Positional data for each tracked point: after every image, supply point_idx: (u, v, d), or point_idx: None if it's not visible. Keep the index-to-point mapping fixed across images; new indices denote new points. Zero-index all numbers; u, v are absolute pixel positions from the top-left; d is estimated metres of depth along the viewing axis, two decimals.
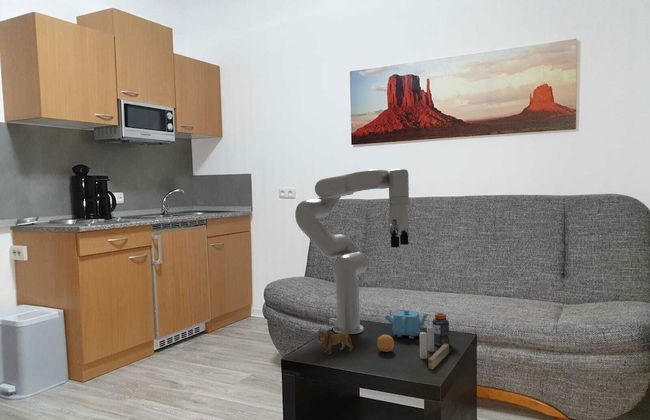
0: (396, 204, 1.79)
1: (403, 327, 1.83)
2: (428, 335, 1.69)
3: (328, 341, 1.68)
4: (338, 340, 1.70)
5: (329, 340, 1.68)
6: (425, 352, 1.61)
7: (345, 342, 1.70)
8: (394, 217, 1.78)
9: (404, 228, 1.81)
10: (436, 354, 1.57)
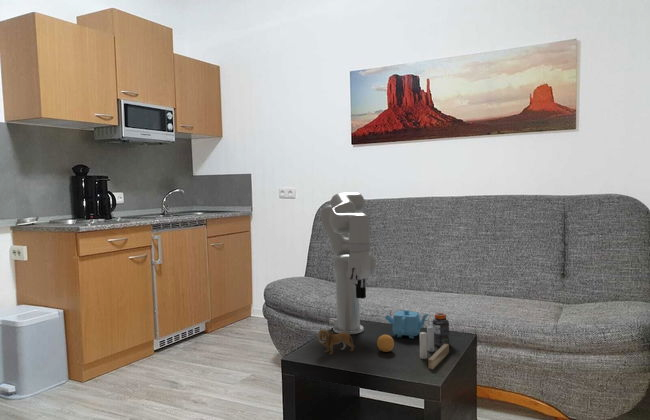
0: (356, 251, 1.70)
1: (403, 327, 1.83)
2: (428, 335, 1.69)
3: (330, 341, 1.68)
4: (340, 340, 1.70)
5: (331, 340, 1.68)
6: (425, 352, 1.61)
7: (347, 342, 1.70)
8: (353, 265, 1.69)
9: (365, 276, 1.72)
10: (436, 354, 1.57)
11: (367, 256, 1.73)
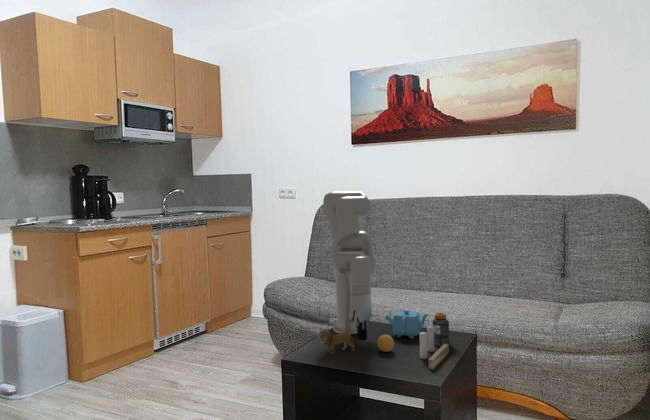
0: (357, 294, 1.70)
1: (403, 327, 1.83)
2: (428, 335, 1.69)
3: (331, 341, 1.68)
4: (340, 340, 1.70)
5: (332, 340, 1.68)
6: (425, 352, 1.61)
7: (347, 342, 1.70)
8: (355, 308, 1.69)
9: (366, 318, 1.72)
10: (436, 354, 1.57)
11: (368, 298, 1.73)
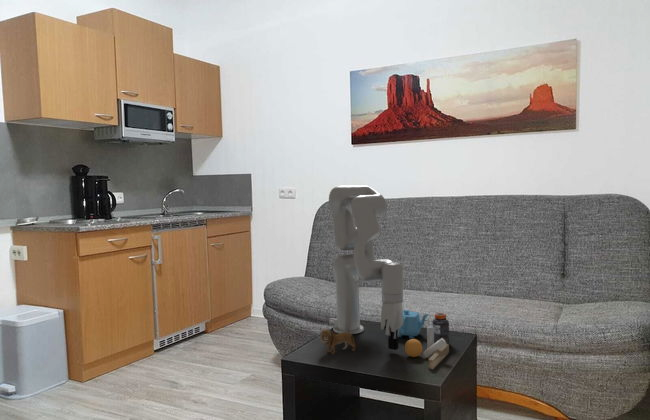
0: (389, 302, 1.64)
1: (403, 327, 1.83)
2: (428, 335, 1.69)
3: (332, 341, 1.68)
4: (341, 340, 1.70)
5: (333, 340, 1.68)
6: (430, 354, 1.61)
7: (348, 342, 1.70)
8: (387, 317, 1.63)
9: (398, 327, 1.67)
10: (436, 354, 1.57)
11: (400, 306, 1.67)
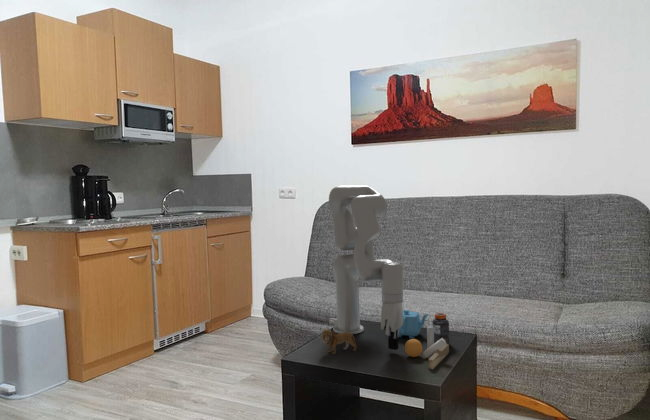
0: (389, 302, 1.64)
1: (403, 327, 1.83)
2: (428, 335, 1.69)
3: (333, 341, 1.68)
4: (342, 340, 1.70)
5: (334, 340, 1.69)
6: (430, 354, 1.61)
7: (349, 341, 1.70)
8: (387, 317, 1.63)
9: (398, 327, 1.67)
10: (436, 354, 1.57)
11: (400, 306, 1.67)
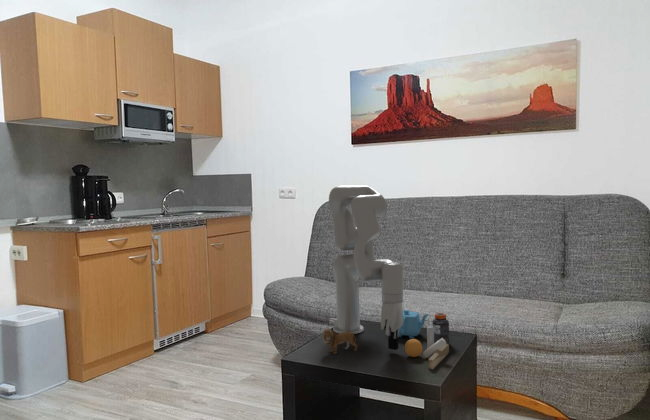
0: (389, 302, 1.64)
1: (403, 327, 1.83)
2: (428, 335, 1.69)
3: (334, 341, 1.68)
4: (343, 339, 1.70)
5: (335, 340, 1.69)
6: (430, 354, 1.61)
7: (350, 341, 1.71)
8: (387, 317, 1.63)
9: (398, 327, 1.67)
10: (436, 354, 1.57)
11: (400, 306, 1.67)
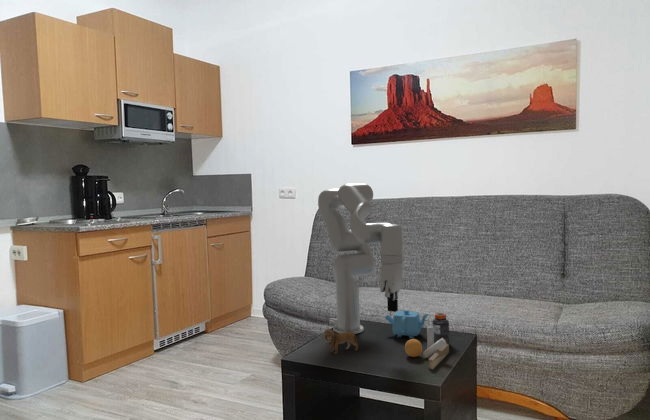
0: (388, 263, 1.64)
1: (403, 327, 1.83)
2: (428, 335, 1.69)
3: (335, 340, 1.68)
4: (344, 339, 1.70)
5: (336, 339, 1.69)
6: (430, 354, 1.61)
7: (351, 341, 1.71)
8: (386, 278, 1.63)
9: (397, 289, 1.66)
10: (436, 354, 1.57)
11: (399, 268, 1.67)
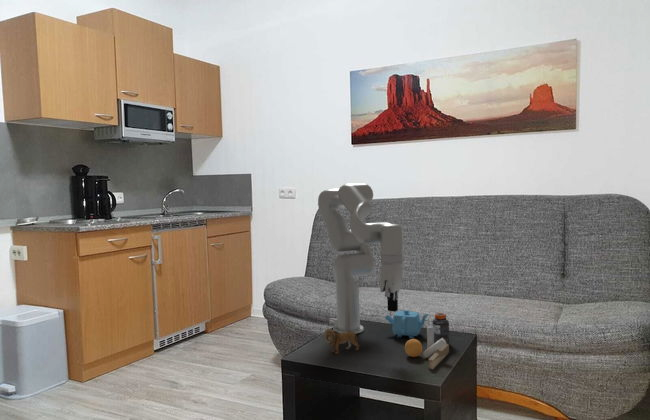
0: (388, 263, 1.64)
1: (403, 327, 1.83)
2: (428, 335, 1.69)
3: (336, 340, 1.68)
4: (345, 339, 1.70)
5: (337, 339, 1.69)
6: (430, 354, 1.61)
7: (352, 341, 1.71)
8: (386, 278, 1.63)
9: (397, 288, 1.66)
10: (436, 354, 1.57)
11: (399, 268, 1.67)
